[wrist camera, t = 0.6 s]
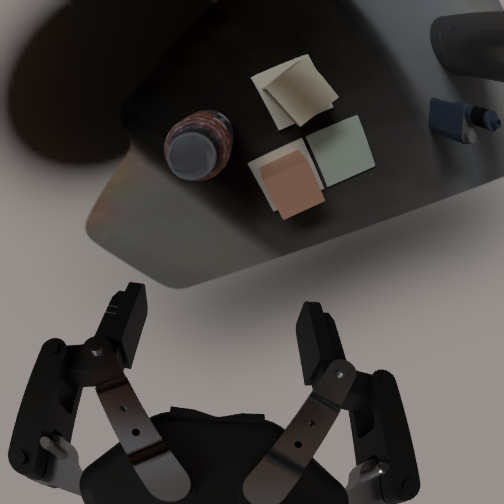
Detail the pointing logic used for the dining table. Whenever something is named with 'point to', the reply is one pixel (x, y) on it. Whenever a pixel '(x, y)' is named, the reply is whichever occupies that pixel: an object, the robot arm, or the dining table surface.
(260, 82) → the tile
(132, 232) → the dining table surface
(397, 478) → the robot arm
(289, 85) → the maple block
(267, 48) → the dining table surface
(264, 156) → the tile
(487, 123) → the vaping device
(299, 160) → the terracotta block
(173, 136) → the supplement bottle
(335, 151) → the sage pad
